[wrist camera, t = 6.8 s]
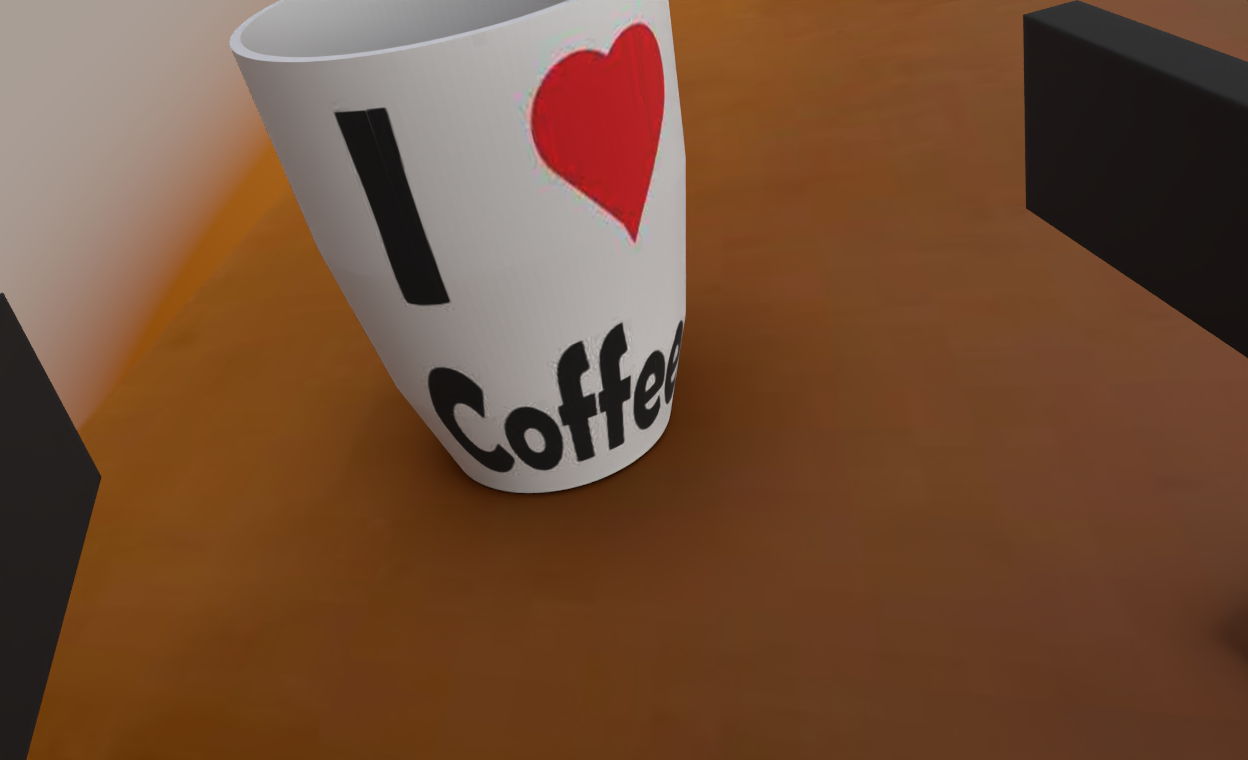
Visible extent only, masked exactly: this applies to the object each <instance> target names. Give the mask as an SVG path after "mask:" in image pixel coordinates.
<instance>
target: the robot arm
mask: <svg viewBox="0 0 1248 760" xmlns="http://www.w3.org/2000/svg"><path fill="white" fill-rule="evenodd" d="M1023 29H1024V97H1025V165H1026V208H1027V209H1028V210H1030V211H1031V212H1033V213H1034V214H1036V215H1037V216H1038V217H1040V218H1041V219H1043V220H1044V221H1046V222H1047V223H1049V224H1050V225H1052V226H1053V227H1055V228H1056V229H1058V230H1059V231H1061V232H1062V233H1064V234H1065V235H1067V236H1068V237H1070V238H1071V239H1073V240H1074V241H1075V242H1077V243H1078V244H1080V245H1081V246H1083V247H1084V248H1086V249H1087V250H1089V251H1090V252H1092V253H1093V254H1095V255H1096V256H1098V257H1099V258H1101V259H1102V260H1104V261H1105V262H1107V263H1108V264H1110V265H1111V266H1112V267H1114V268H1115V269H1117V270H1118V271H1120V272H1121V273H1123V274H1124V275H1126V276H1127V277H1129V278H1130V279H1132V280H1133V281H1135V282H1136V283H1138V284H1139V285H1141V286H1142V287H1144V288H1145V289H1146V290H1148V291H1149V292H1151V293H1152V294H1154V295H1155V296H1157V297H1158V298H1160V299H1161V300H1163V301H1164V302H1166V303H1167V304H1169V305H1170V306H1172V307H1173V308H1175V309H1176V310H1178V311H1179V312H1181V313H1182V314H1183V315H1185V316H1186V317H1188V318H1189V319H1191V320H1192V321H1194V322H1195V323H1197V324H1198V325H1200V326H1201V327H1203V328H1204V329H1206V330H1207V331H1209V332H1210V333H1212V334H1213V335H1215V336H1216V337H1218V338H1219V339H1220V340H1222V341H1223V342H1225V343H1226V344H1228V345H1229V346H1231V347H1232V348H1234V349H1235V350H1237V351H1238V352H1240V353H1241V354H1243V355H1244V356H1246V357H1247V358H1248V62H1246V61H1244V60H1241V59H1238V58H1235V57H1233V56H1230V55H1227V54H1224V53H1222V52H1219V51H1216V50H1213V49H1211V48H1208V47H1205V46H1202V45H1200V44H1197V43H1194V42H1191V41H1189V40H1186V39H1183V38H1180V37H1177V36H1175V35H1172V34H1169V33H1166V32H1164V31H1161V30H1158V29H1155V28H1153V27H1150V26H1147V25H1144V24H1142V23H1139V22H1136V21H1133V20H1131V19H1128V18H1125V17H1122V16H1120V15H1117V14H1114V13H1111V12H1109V11H1106V10H1103V9H1100V8H1098V7H1095V6H1092V5H1089V4H1086V3H1084V2H1081V1H1078V0H1076V1H1072V2H1069V3H1065V4H1061V5H1058V6H1054V7H1050V8H1047V9H1043V10H1039V11H1036V12H1032V13H1028V14H1025V15H1023ZM100 480H101V475H100V473H99V472H98V470H97V468H96V466H95V464H94V462H93V460H92V458H91V457H90V455H89V453H88V451H87V449H86V447H85V445H84V443H83V442H82V440H81V438H80V436H79V434H78V432H77V430H76V428H75V427H74V425H73V423H72V421H71V419H70V417H69V415H68V414H67V412H66V410H65V408H64V406H63V404H62V402H61V400H60V399H59V397H58V395H57V393H56V391H55V389H54V387H53V385H52V383H51V382H50V380H49V378H48V376H47V374H46V372H45V370H44V368H43V367H42V365H41V363H40V361H39V359H38V357H37V355H36V353H35V352H34V350H33V348H32V346H31V344H30V342H29V340H28V338H27V337H26V335H25V333H24V331H23V329H22V327H21V325H20V323H19V322H18V320H17V318H16V316H15V314H14V312H13V311H12V308H11V307H10V305H9V303H8V301H7V299H6V297H5V295H4V293H1V294H0V760H26V758H27V754H28V751H29V747H30V743H31V739H32V736H33V732H34V728H35V724H36V721H37V717H38V713H39V709H40V706H41V702H42V698H43V694H44V691H45V687H46V683H47V679H48V676H49V672H50V668H51V664H52V661H53V657H54V653H55V649H56V645H57V642H58V638H59V634H60V630H61V627H62V623H63V619H64V615H65V612H66V608H67V604H68V600H69V597H70V593H71V589H72V585H73V582H74V578H75V574H76V570H77V567H78V563H79V559H80V555H81V552H82V548H83V544H84V540H85V537H86V533H87V529H88V525H89V521H90V518H91V514H92V510H93V506H94V503H95V499H96V495H97V491H98V488H99V484H100Z"/></svg>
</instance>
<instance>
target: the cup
mask: <svg viewBox="0 0 1248 760" xmlns="http://www.w3.org/2000/svg"><path fill="white" fill-rule="evenodd" d="M230 47H231V49H232V52H233V54H234V56H235V58H236V61H237V63H238V65H239V68H240V70H241V72H242V75H243V77H244V79H245V81H246V84H247V86H248V88H249V91H250V93H251V95H252V98H253V100H254V102H255V104H256V107H257V109H258V112H259V114H260V116H261V118H262V121H263V123H264V125H265V127H266V130H267V132H268V135H269V137H270V139H271V141H272V144H273V146H274V148H275V151H276V153H277V155H278V158H279V160H280V162H281V165H282V167H283V169H284V171H285V174H286V176H287V178H288V181H289V183H290V185H291V188H292V190H293V192H294V194H295V197H296V199H297V201H298V204H299V206H300V208H301V211H302V213H303V215H304V218H305V220H306V222H307V224H308V227H309V229H310V231H311V234H312V236H313V238H314V241H315V243H316V245H317V247H318V250H319V252H320V253H321V255H322V257H323V259H324V260H325V262H326V264H327V266H328V267H329V269H330V271H331V273H332V274H333V276H334V278H335V280H336V281H337V283H338V285H339V287H340V288H341V290H342V292H343V294H344V295H345V297H346V299H347V301H348V302H349V304H350V306H351V308H352V309H353V311H354V313H355V315H356V316H357V318H358V320H359V322H360V323H361V325H362V327H363V329H364V330H365V332H366V334H367V336H368V337H369V339H370V341H371V343H372V344H373V346H374V348H375V350H376V351H377V353H378V355H379V357H380V358H381V360H382V362H383V364H384V365H385V367H386V369H387V371H388V372H389V374H390V376H391V378H392V380H393V381H394V383H395V385H396V386H397V388H398V389H399V391H400V392H401V393H402V394H403V396H404V397H405V398H406V399H407V401H408V402H409V403H410V404H411V406H412V407H413V408H414V409H415V411H416V412H417V413H418V414H419V416H420V417H421V418H422V419H423V421H424V422H425V423H426V424H427V426H428V427H429V428H430V430H431V431H432V432H433V433H434V435H435V436H436V437H437V438H438V440H439V441H440V442H441V443H442V445H443V446H444V447H445V448H446V450H447V451H448V452H449V453H450V455H451V456H452V457H453V458H454V460H455V461H456V462H457V463H458V465H459V466H460V467H461V468H462V470H463V471H464V472H465V473H466V474H467V475H468V476H469V477H471V478H472V479H473V480H475V481H477V482H479V483H481V484H483V485H485V486H488V487H491V488H494V489H498V490H502V491H508V492H517V493H542V492H552V491H559V490H564V489H569V488H573V487H577V486H581V485H584V484H588V483H591V482H594V481H596V480H599V479H602V478H604V477H606V476H609V475H611V474H613V473H615V472H617V471H619V470H621V469H623V468H624V467H626V466H628V465H629V464H631V463H632V462H634V461H635V460H637V459H638V458H639V457H641V456H642V455H643V454H644V453H646V452H647V451H648V450H649V449H650V448H651V447H652V446H653V445H654V444H655V443H656V442H657V440H658V439H659V438H660V437H661V435H662V434H663V432H664V430H665V428H666V426H667V424H668V421H669V418H670V412H671V406H672V399H673V393H674V386H675V380H676V373H677V366H678V360H679V353H680V347H681V340H682V334H683V327H684V321H685V314H686V157H685V147H684V138H683V129H682V120H681V111H680V102H679V93H678V84H677V75H676V65H675V56H674V47H673V38H672V29H671V20H670V11H669V2H668V0H280V1H278V2H276V3H274V4H272V5H270V6H268V7H267V8H265V9H263V10H261V11H260V12H258V13H256V14H255V15H253V16H252V17H250V18H249V19H248V20H246V21H245V22H244V23H243V24H241V25H240V26H239V27H238V28H237V29H236V30H235V32H234V33H233V34H232V36H231V39H230Z"/></svg>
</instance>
